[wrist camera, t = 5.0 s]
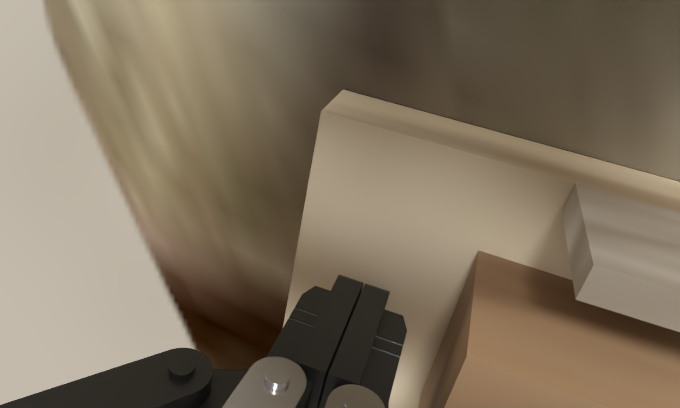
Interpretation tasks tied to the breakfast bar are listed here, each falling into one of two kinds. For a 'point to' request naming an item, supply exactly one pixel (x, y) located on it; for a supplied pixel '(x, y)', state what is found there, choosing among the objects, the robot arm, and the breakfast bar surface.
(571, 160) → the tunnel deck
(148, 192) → the breakfast bar surface
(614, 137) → the breakfast bar surface
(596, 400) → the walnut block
